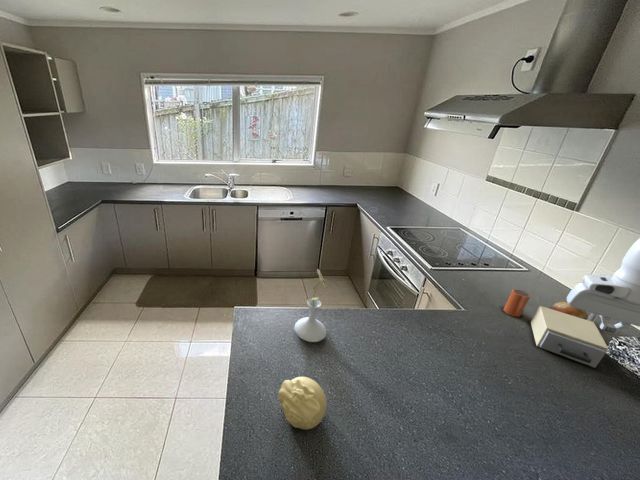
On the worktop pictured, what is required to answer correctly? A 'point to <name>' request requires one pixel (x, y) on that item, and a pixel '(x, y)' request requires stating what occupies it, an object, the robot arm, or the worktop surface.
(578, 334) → the box
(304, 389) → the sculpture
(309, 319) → the flower in vase
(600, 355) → the drawer
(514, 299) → the cup
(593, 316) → the screw
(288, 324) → the worktop surface
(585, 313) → the bread roll
